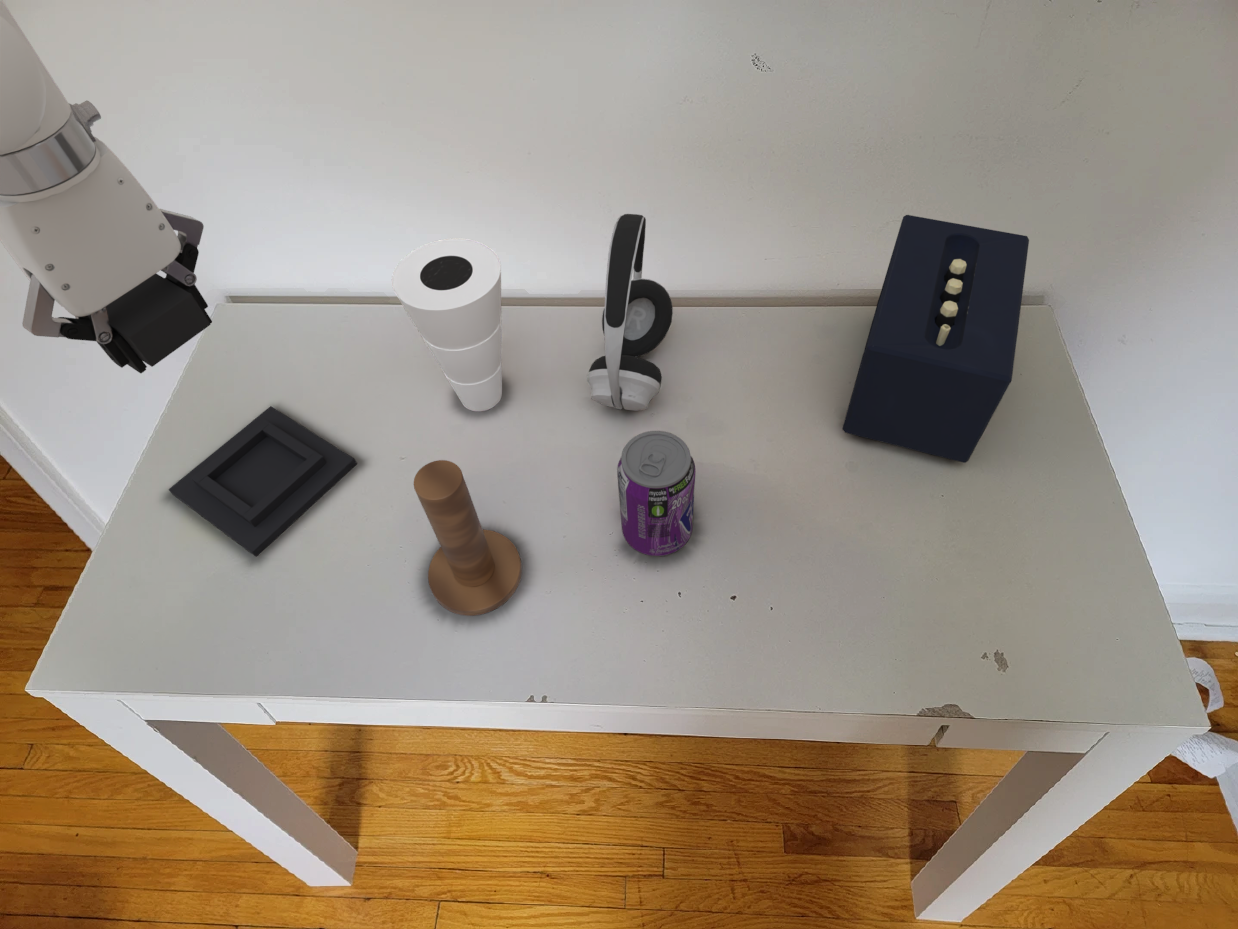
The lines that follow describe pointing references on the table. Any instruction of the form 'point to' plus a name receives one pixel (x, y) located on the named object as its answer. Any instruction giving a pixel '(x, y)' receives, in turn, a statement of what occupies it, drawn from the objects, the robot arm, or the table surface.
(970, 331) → the speaker
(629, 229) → the headphones
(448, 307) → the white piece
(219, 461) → the base pad
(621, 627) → the table surface
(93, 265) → the robot arm
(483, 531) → the stand
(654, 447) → the beverage can
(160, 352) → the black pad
